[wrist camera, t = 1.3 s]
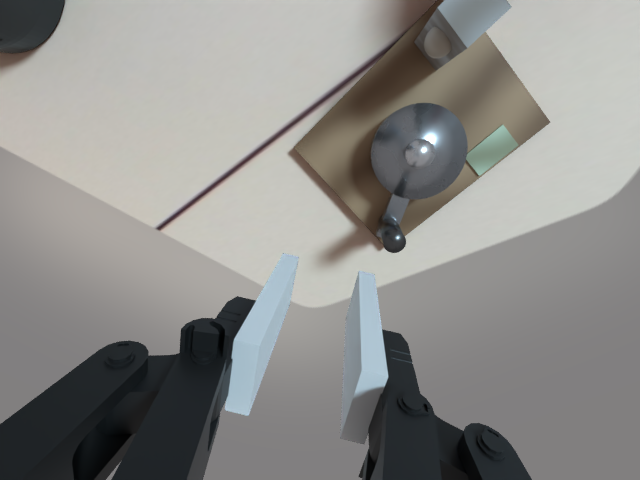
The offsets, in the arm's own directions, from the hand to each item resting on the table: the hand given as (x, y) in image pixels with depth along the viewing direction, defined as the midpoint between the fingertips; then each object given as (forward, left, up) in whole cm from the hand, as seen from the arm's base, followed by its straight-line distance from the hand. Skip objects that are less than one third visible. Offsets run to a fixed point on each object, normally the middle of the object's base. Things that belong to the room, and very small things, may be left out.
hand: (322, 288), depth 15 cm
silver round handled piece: (+2, +7, -17) cm, 19 cm away
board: (0, +10, -19) cm, 21 cm away
